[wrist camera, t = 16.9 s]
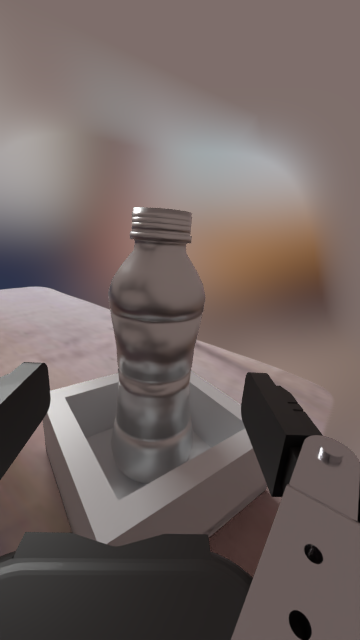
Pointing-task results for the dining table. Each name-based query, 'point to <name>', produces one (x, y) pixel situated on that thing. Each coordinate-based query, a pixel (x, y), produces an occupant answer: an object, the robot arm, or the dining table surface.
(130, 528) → the bin
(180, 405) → the plastic bottle
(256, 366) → the dining table surface
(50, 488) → the dining table surface
